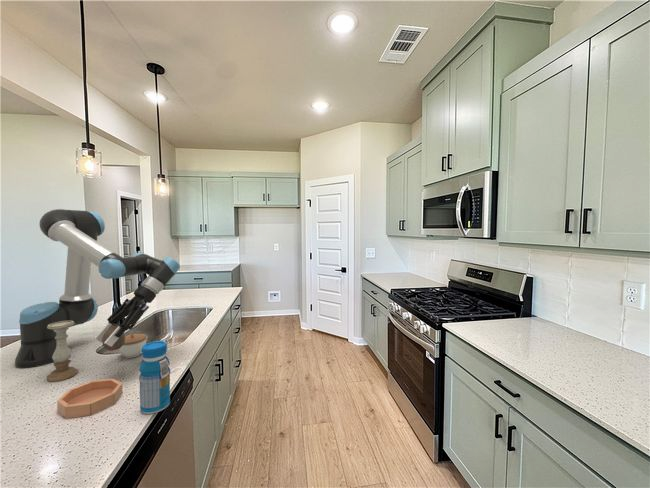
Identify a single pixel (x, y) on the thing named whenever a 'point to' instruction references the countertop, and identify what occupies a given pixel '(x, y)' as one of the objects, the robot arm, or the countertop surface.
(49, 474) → the countertop surface
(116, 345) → the vase
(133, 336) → the lidded jar
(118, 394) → the terracotta dish
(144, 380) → the beverage bottle
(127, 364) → the countertop surface
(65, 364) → the candle holder
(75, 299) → the robot arm
